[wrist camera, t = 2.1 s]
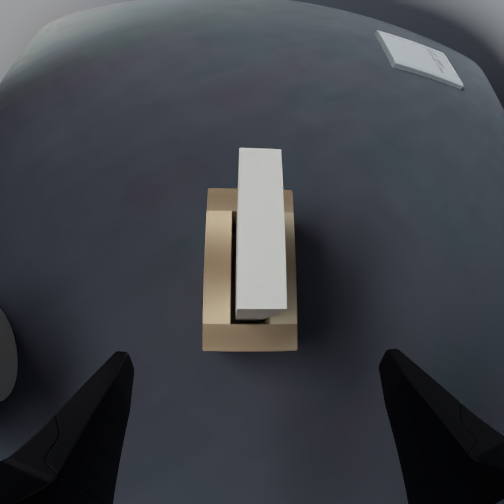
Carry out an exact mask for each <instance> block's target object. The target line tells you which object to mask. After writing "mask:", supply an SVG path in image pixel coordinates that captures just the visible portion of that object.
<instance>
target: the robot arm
mask: <svg viewBox="0 0 504 504" xmlns="http://www.w3.org/2000/svg"><path fill="white" fill-rule="evenodd" d="M379 372H380V377H381V383H382V389H383V395H384V400H385V405H386V409H387V413H388V417H389V420H390V424H391V428H392V432H393V436H394V439H395V444H396V448H397V452H398V456H399V460H400V465H401V469H402V473H403V478H404V483H405V488H406V493H407V499H408V504H504V436H503V435H502V434H500V433H499V432H497V431H496V430H494V429H493V428H492V427H490V426H489V425H487V424H486V423H485V422H483V421H482V420H481V419H479V418H478V417H477V416H475V415H474V414H473V413H472V412H471V411H469V410H468V409H467V408H466V407H465V406H464V405H462V404H460V402H459V401H458V400H457V399H456V398H454V397H453V396H452V395H451V394H450V393H449V392H447V391H446V390H445V389H444V388H443V387H442V386H441V385H439V384H438V383H437V382H436V381H435V380H434V379H432V378H431V377H430V376H429V375H428V374H427V373H425V372H424V371H423V370H422V369H421V368H420V367H418V366H417V365H416V364H415V363H414V362H413V361H411V360H410V359H409V358H408V357H407V356H406V355H404V354H403V353H402V352H401V351H400V350H398V349H388V350H387V351H386V352H385V354H384V356H383V358H382V360H381V362H380V364H379ZM133 378H134V367H133V364H132V361H131V359H130V356H129V354H128V353H127V352H120V351H117V352H115V353H114V354H113V355H112V356H111V357H110V358H109V359H108V360H107V361H106V362H105V364H104V365H103V366H102V367H101V368H100V369H99V370H98V371H97V372H96V373H95V374H94V375H93V376H92V377H91V378H90V379H89V380H88V381H87V382H86V383H85V384H84V385H83V386H82V387H81V388H80V389H79V390H78V391H77V392H76V393H75V394H74V396H73V397H72V398H71V399H70V400H69V401H68V402H67V403H66V404H65V405H64V406H63V407H62V408H61V409H60V410H59V411H58V412H57V413H56V416H54V417H53V418H52V419H51V420H50V421H49V422H48V423H47V424H46V425H45V426H44V427H43V428H42V429H41V430H40V431H39V432H38V433H37V434H35V435H34V436H33V437H32V438H31V439H30V440H29V441H27V442H26V443H25V444H24V445H23V446H22V447H20V448H19V449H18V450H17V451H16V452H14V453H13V454H12V455H11V456H9V457H8V458H6V459H4V460H2V461H0V504H113V499H114V492H115V486H116V480H117V474H118V468H119V462H120V457H121V451H122V446H123V441H124V436H125V431H126V427H127V422H128V417H129V412H130V405H131V395H132V386H133Z"/></svg>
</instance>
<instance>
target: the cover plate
mask: <svg viewBox="0 0 504 504" xmlns="http://www.w3.org/2000/svg"><path fill="white" fill-rule="evenodd" d="M286 309H287V288H286V250H285V221H284V198H283V177H282V159H281V149H261V148H239V171H238V198H237V227H236V298H235V322H259V321H262V320H264V319H266V318H268V317H270V316H273V315H275V314H277V313H279V312H281V311H283V310H286Z"/></svg>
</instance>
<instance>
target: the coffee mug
mask: <svg viewBox="0 0 504 504" xmlns="http://www.w3.org/2000/svg"><path fill="white" fill-rule="evenodd" d="M17 369H18V358H17V348H16V343H15V338H14V334H13V331H12V328H11V325H10V323H9V321H8V319H7V317H6V315H5V313H4V312H3V311H2V309H1V308H0V401H3V400H5V399H6V398H7V397H8V396H9V395H10V393H11V392H12V390H13V388H14V385H15V382H16V377H17Z"/></svg>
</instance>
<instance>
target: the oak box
mask: <svg viewBox="0 0 504 504" xmlns="http://www.w3.org/2000/svg"><path fill="white" fill-rule="evenodd" d="M237 198H238V189H227V188H208V199H207V216H206V235H205V258H204V289H203V351H295V350H297V289H296V258H295V234H294V213H293V196H292V190H283V198H284V221H285V250H286V288H287V309H286V310H283V311H281V312H279V313H277V314H275V315H273V316H270V317H268V318H266V319H264V320H262V321H259V322H235V298H236V227H237Z"/></svg>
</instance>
